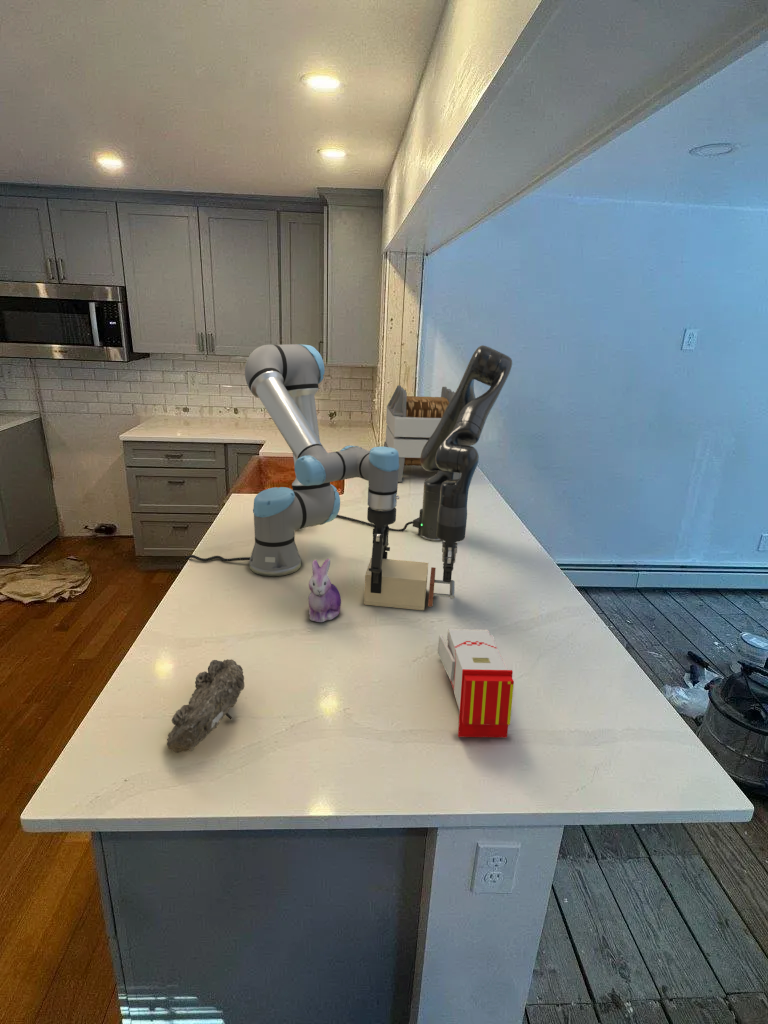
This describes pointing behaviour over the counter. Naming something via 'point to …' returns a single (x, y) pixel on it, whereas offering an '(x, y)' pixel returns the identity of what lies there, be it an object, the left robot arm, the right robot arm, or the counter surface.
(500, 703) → the toy
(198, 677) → the fossil
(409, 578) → the cabinet
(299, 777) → the counter surface
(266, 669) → the counter surface
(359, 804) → the counter surface
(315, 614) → the figurine
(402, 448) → the white box
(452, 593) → the drawer
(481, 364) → the right robot arm
